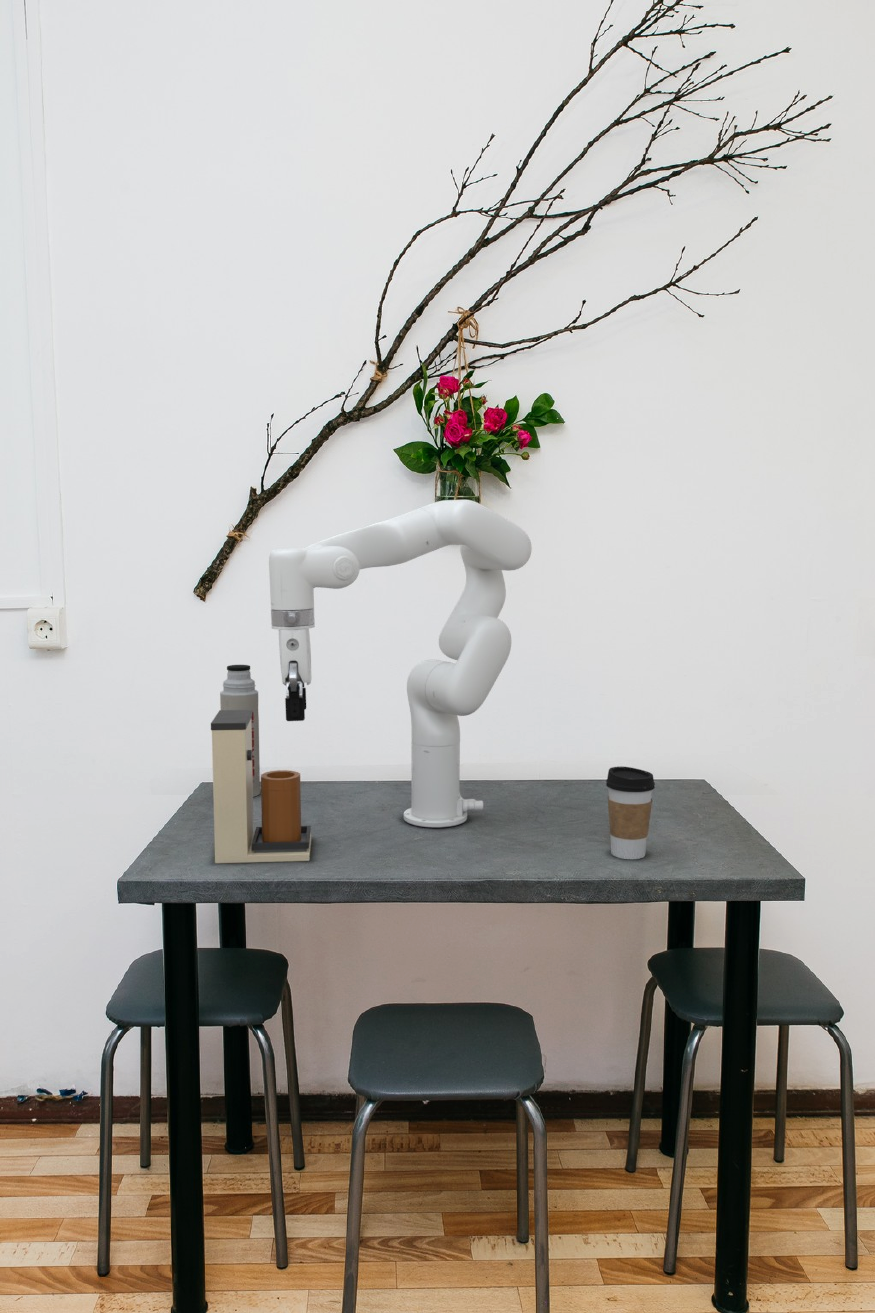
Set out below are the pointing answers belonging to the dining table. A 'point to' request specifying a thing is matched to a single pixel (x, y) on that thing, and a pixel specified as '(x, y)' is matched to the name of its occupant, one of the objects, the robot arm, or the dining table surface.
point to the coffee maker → (242, 798)
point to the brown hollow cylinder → (281, 806)
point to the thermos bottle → (244, 697)
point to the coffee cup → (629, 810)
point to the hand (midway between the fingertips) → (296, 715)
